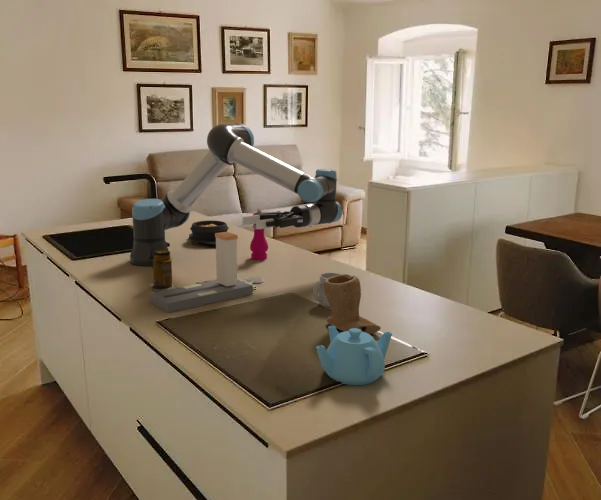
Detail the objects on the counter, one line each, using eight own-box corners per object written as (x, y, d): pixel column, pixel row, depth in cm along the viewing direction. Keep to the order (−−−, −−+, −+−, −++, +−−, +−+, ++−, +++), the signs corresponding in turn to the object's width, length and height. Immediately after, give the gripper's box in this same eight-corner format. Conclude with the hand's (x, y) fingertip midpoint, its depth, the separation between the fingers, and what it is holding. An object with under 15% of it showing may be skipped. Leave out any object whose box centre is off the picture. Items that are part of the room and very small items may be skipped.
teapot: (311, 383, 131) (312, 337, 128) (328, 356, 145) (329, 315, 142) (379, 394, 127) (382, 346, 124) (390, 365, 141) (393, 322, 138)
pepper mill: (269, 256, 240) (269, 207, 236) (266, 260, 233) (266, 210, 229) (251, 255, 241) (251, 206, 236) (248, 259, 234) (248, 209, 229)
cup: (347, 305, 183) (348, 277, 180) (319, 310, 178) (319, 281, 176) (334, 298, 189) (335, 271, 187) (307, 303, 184) (307, 275, 182)
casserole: (241, 245, 258) (241, 226, 256) (201, 250, 249) (201, 230, 247) (217, 234, 279) (216, 217, 277) (179, 238, 269) (178, 220, 267)
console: (232, 285, 201) (232, 276, 200) (252, 293, 192) (252, 285, 191) (149, 301, 183) (149, 292, 182) (167, 312, 174) (167, 303, 173)
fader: (227, 279, 196) (226, 231, 192) (238, 284, 191) (237, 235, 187) (215, 282, 193) (214, 233, 189) (226, 286, 188) (225, 236, 184)
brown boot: (315, 323, 167) (316, 272, 163) (351, 317, 172) (352, 267, 168) (343, 342, 154) (345, 287, 150) (381, 335, 159) (384, 281, 155)
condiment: (172, 282, 203) (170, 248, 200) (175, 289, 195) (174, 254, 193) (150, 284, 201) (148, 249, 198) (153, 291, 193) (151, 255, 190)
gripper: (322, 231, 201) (267, 239, 186) (286, 221, 216) (233, 229, 202) (323, 209, 199) (267, 216, 185) (286, 201, 214) (232, 207, 200)
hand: (249, 222), depth 193 cm, fingers open, 7 cm apart
